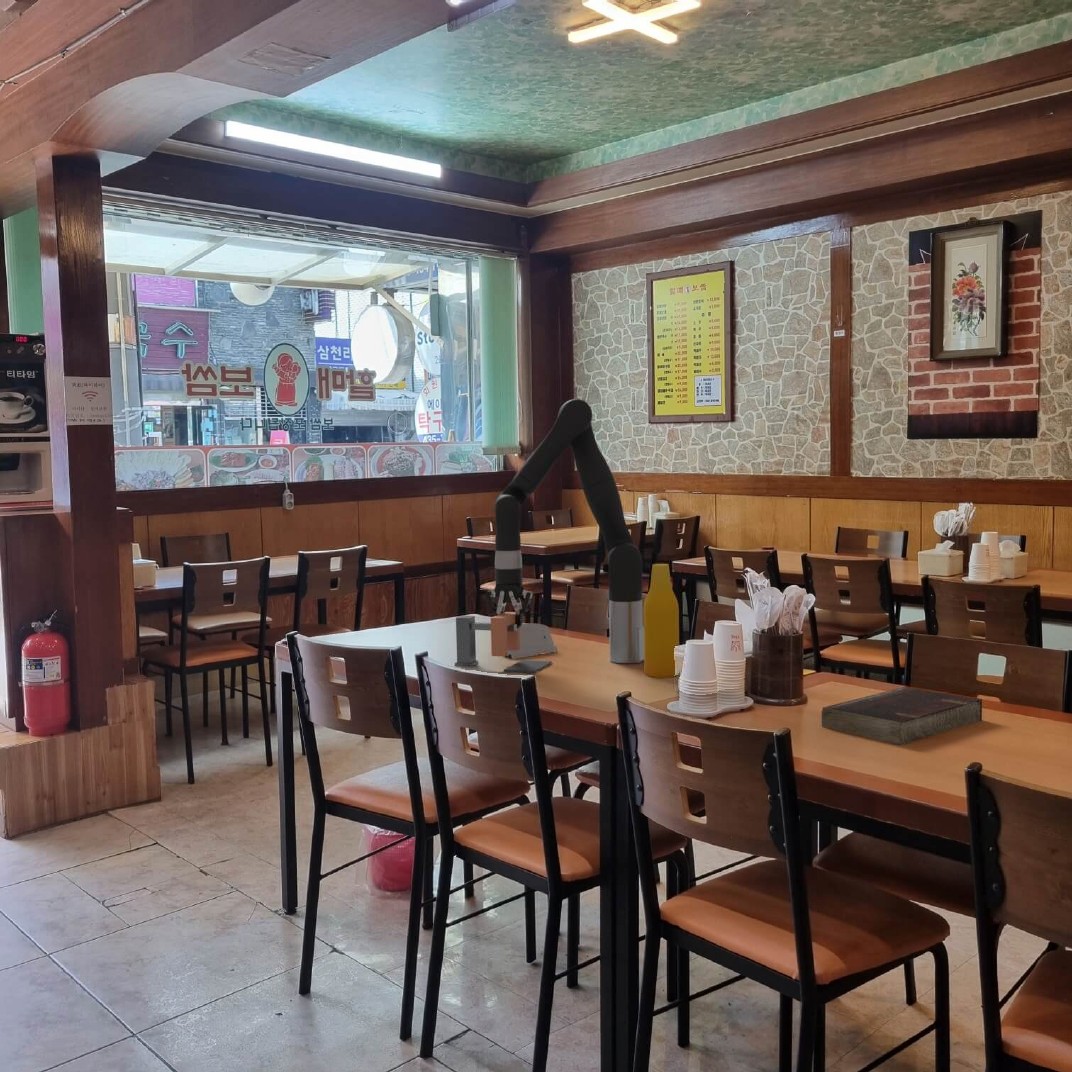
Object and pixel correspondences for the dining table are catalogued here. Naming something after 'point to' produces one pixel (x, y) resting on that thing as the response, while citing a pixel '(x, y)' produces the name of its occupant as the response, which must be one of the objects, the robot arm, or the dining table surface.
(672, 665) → the beer bottle
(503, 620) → the pink block
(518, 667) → the mat
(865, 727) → the hardback book
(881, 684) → the dining table surface
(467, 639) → the bracket
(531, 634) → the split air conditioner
